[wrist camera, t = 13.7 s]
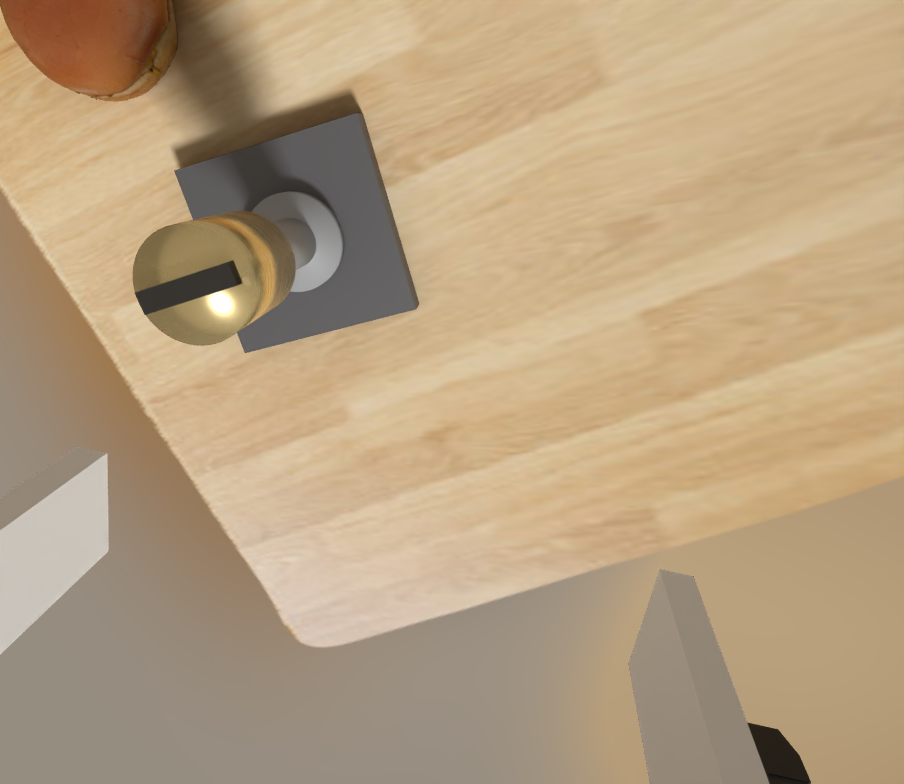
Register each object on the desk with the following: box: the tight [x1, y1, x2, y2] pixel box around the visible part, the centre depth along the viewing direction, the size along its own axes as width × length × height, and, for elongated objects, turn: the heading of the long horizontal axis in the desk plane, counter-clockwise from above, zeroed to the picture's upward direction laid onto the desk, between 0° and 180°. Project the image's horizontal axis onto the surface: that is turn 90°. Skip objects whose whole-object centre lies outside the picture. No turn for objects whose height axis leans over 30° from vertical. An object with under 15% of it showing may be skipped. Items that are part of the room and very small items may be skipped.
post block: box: [175, 113, 419, 353], centre depth 39 cm, size 12×12×10 cm
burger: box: [0, 0, 177, 101], centre depth 38 cm, size 10×9×5 cm
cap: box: [133, 211, 296, 345], centre depth 31 cm, size 5×5×7 cm
